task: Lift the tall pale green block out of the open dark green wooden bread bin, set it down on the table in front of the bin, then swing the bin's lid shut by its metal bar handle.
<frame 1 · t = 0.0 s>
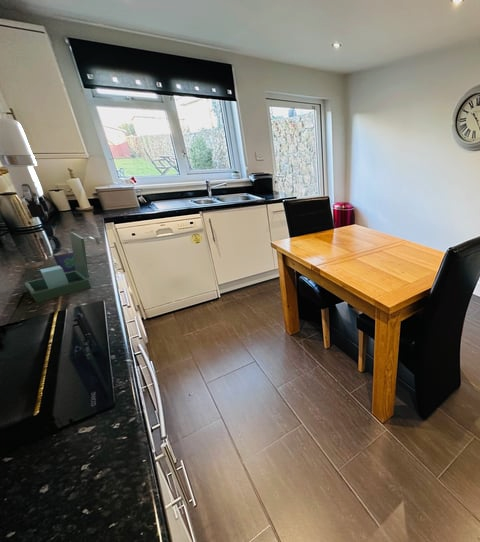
hand: (41, 214, 97), 30 cm above the worktop, tool pointing down, fingers open, 9 cm apart
bin lid: (86, 254, 112), point 12 cm above the worktop, hinge at 100.0°
bread bin: (61, 291, 108), on the worktop
purple box: (75, 271, 125), on the worktop
pale green block: (60, 289, 108), point 1 cm above the worktop, touching bread bin
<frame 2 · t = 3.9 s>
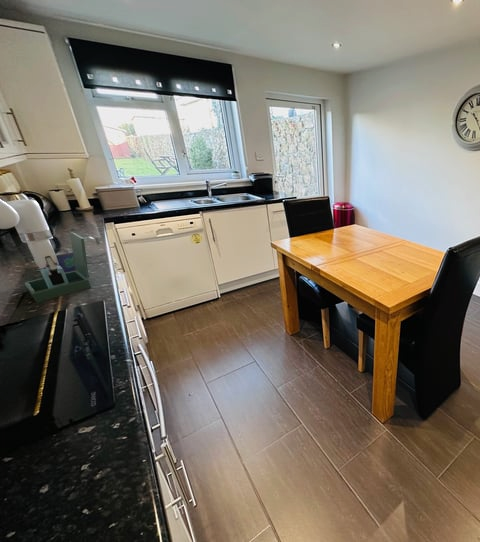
hand: (56, 281, 106), 4 cm above the worktop, tool pointing down, fingers closed on pale green block, 4 cm apart
pale green block: (60, 289, 108), point 1 cm above the worktop, touching bread bin, gripper
everything else where it was.
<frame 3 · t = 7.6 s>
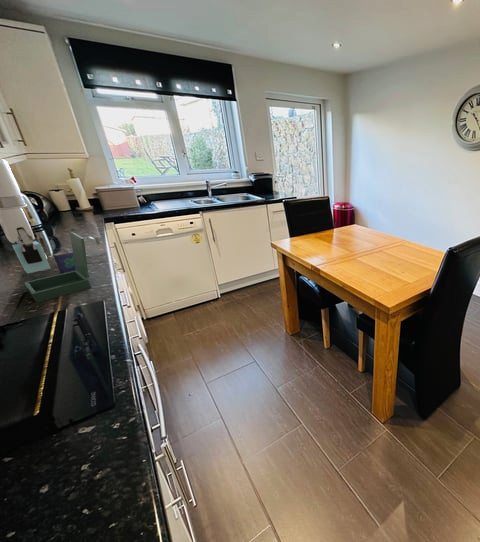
hand: (33, 260, 89), 18 cm above the worktop, tool pointing down, fingers closed on pale green block, 4 cm apart
pale green block: (37, 269, 90), point 15 cm above the worktop, touching gripper
everything else where it was.
when the fingers open (3 cm above the worktop, at t = 11.4 s): pale green block stays where it is, on the worktop.
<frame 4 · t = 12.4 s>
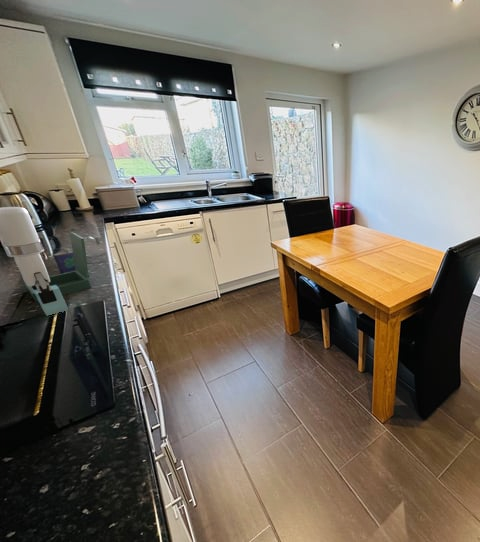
hand: (46, 297, 92), 6 cm above the worktop, tool pointing down, fingers open, 9 cm apart
pale green block: (56, 311, 95), on the worktop
everything else where it was.
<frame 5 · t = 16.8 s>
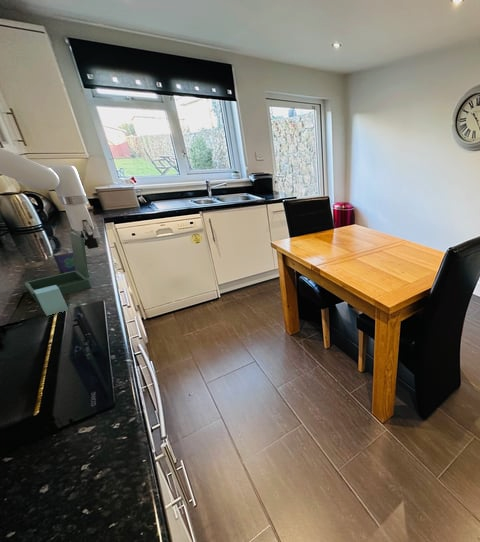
hand: (90, 246, 112), 15 cm above the worktop, tool pointing down, fingers closed on bin lid, 5 cm apart
bin lid: (86, 254, 112), point 12 cm above the worktop, hinge at 100.0°, touching gripper
everything else where it was.
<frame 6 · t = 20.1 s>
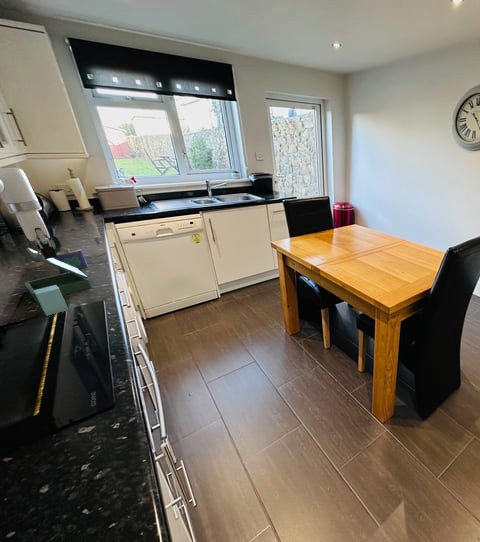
hand: (49, 255, 103), 15 cm above the worktop, tool pointing down, fingers closed on bin lid, 5 cm apart
bin lid: (62, 259, 106), point 12 cm above the worktop, hinge at 48.6°, touching gripper
everything else where it was.
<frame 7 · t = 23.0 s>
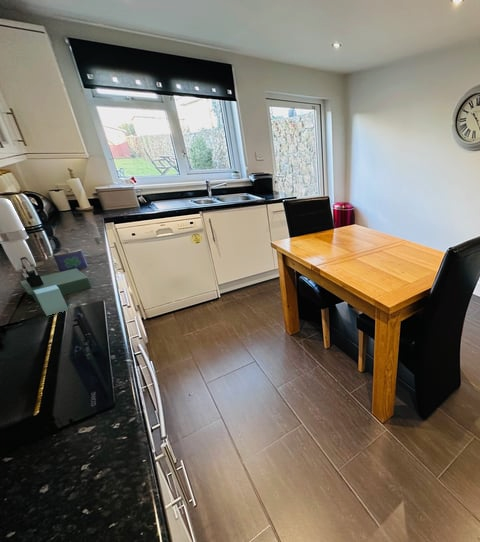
hand: (35, 283, 102), 5 cm above the worktop, tool pointing down, fingers closed on bin lid, 5 cm apart
bin lid: (52, 275, 105), point 7 cm above the worktop, hinge at -0.2°, touching bread bin, gripper
everything else where it was.
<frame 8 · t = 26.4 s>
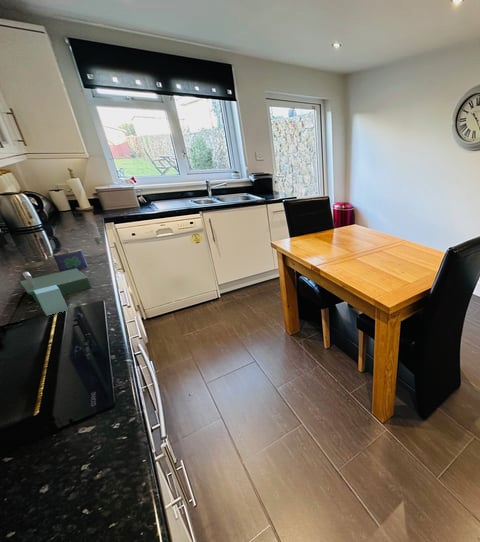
bin lid: (52, 275, 105), point 7 cm above the worktop, hinge at -0.2°, touching bread bin
everything else where it was.
at the end: pale green block inside the target area (0.3 cm from its centre), on the worktop; pale green block tilted 0°; bin lid at +0° (first picture: +100°) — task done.
